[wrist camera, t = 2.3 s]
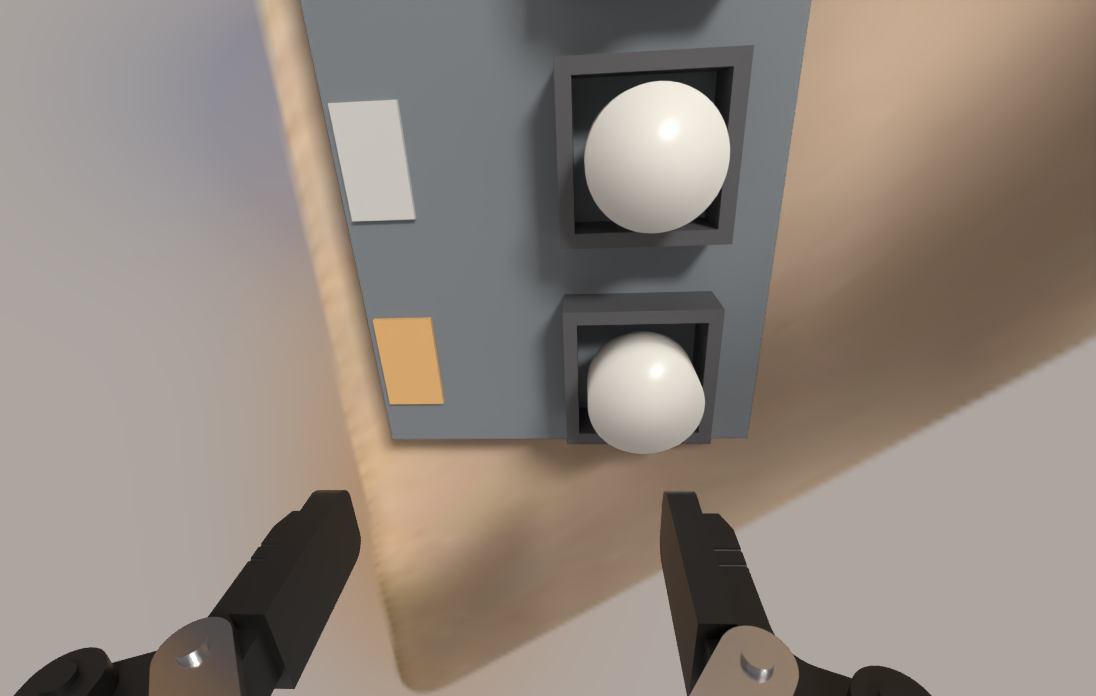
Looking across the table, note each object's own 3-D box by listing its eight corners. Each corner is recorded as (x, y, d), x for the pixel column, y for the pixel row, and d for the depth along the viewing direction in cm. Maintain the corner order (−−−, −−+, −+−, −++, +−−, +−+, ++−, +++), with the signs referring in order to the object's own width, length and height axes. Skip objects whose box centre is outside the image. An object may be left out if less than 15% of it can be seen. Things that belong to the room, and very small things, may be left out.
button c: (697, 330, 18) (710, 354, 17) (689, 423, 20) (700, 454, 18) (586, 332, 19) (587, 356, 17) (587, 423, 20) (588, 454, 18)
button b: (719, 80, 15) (737, 76, 13) (707, 218, 17) (722, 231, 15) (583, 87, 15) (583, 84, 13) (585, 222, 17) (585, 235, 15)
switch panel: (831, -328, 14) (919, -482, 10) (734, 413, 24) (761, 467, 20) (274, -269, 15) (177, -388, 11) (406, 415, 25) (377, 466, 22)
